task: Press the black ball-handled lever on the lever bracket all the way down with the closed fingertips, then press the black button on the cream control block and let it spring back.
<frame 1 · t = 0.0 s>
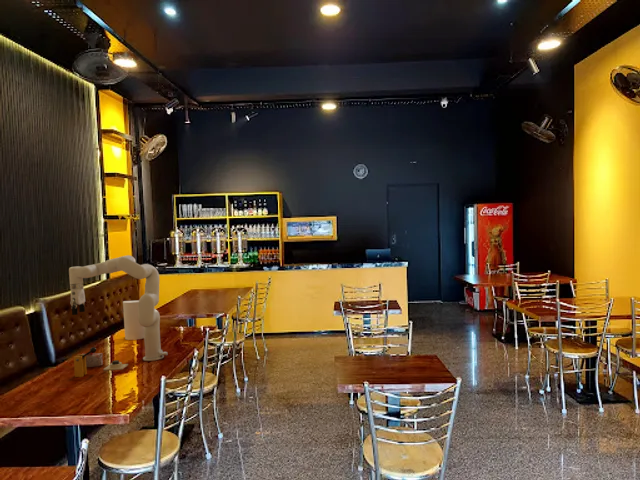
hand: (78, 313, 314), 31 cm above the table, tool pointing down, fingers open, 9 cm apart
cylinder: (137, 337, 382), on the table
press lever: (86, 354, 281), point 13 cm above the table, hinge at 30.0°
lever bracket: (81, 378, 282), on the table
stop button: (115, 362, 294), point 5 cm above the table, slide at 0.2 cm
control block: (116, 370, 294), on the table
food item: (91, 368, 302), on the table
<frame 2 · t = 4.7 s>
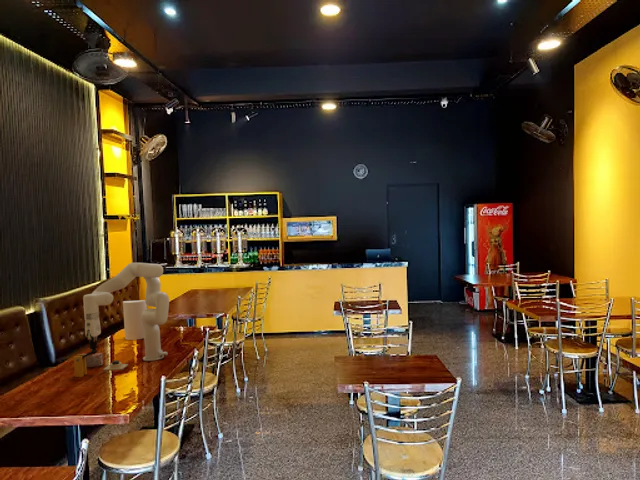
hand: (93, 348, 281), 16 cm above the table, tool pointing down, fingers closed
press lever: (87, 354, 281), point 13 cm above the table, hinge at 24.9°
everything else where it was.
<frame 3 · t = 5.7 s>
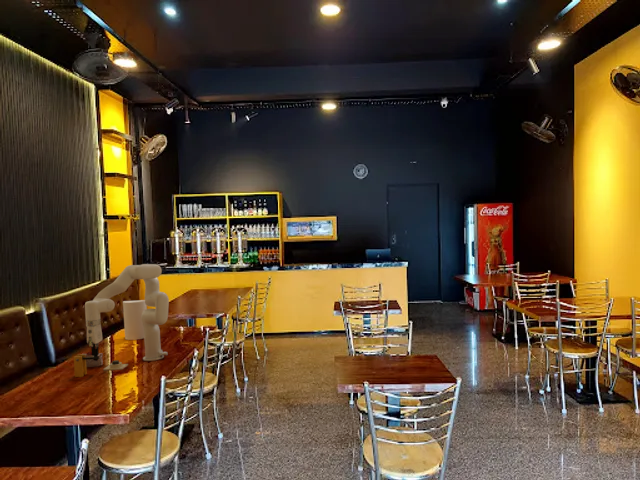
hand: (95, 355, 281), 13 cm above the table, tool pointing down, fingers closed
press lever: (88, 358, 281), point 11 cm above the table, hinge at -0.7°, touching gripper
everything else where it was.
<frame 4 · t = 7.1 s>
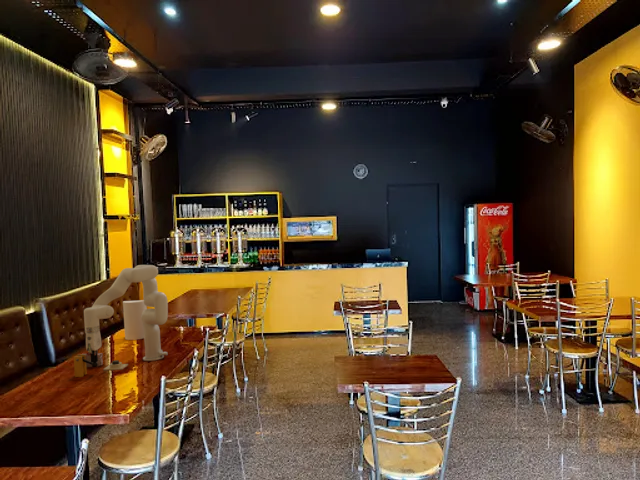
hand: (94, 361, 282), 9 cm above the table, tool pointing down, fingers closed
press lever: (87, 361, 281), point 9 cm above the table, hinge at -25.5°
everything else where it was.
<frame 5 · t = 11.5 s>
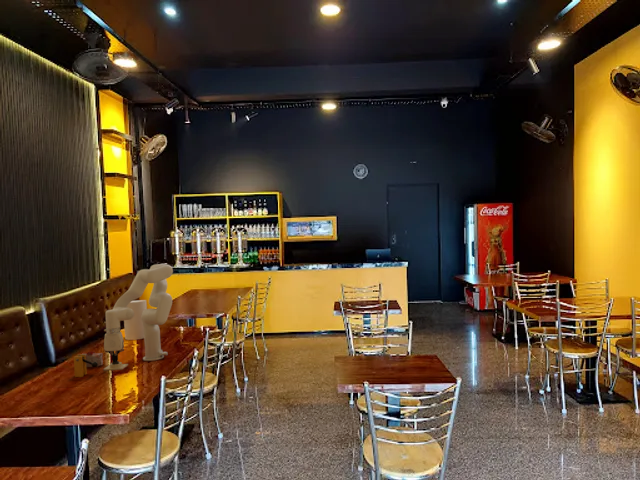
hand: (115, 361, 294), 5 cm above the table, tool pointing down, fingers closed
stop button: (115, 363, 294), point 4 cm above the table, slide at -0.2 cm, touching gripper
everything else where it was.
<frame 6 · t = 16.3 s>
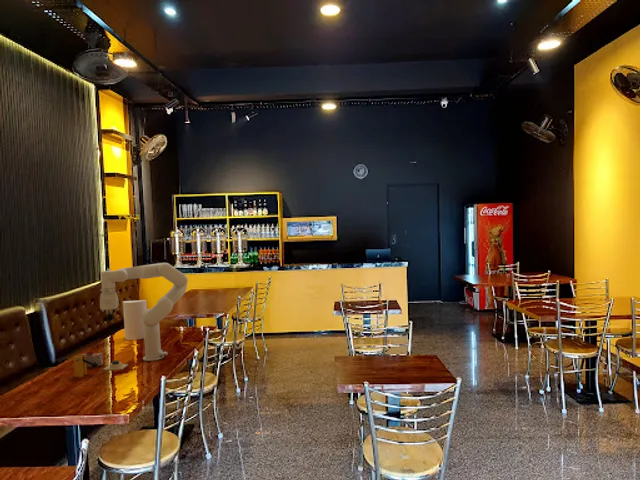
hand: (110, 320, 307), 27 cm above the table, tool pointing down, fingers closed
stop button: (115, 362, 294), point 5 cm above the table, slide at 0.1 cm
everything else where it was.
at the end: press lever at -26° (first picture: +30°); stop button pushed in 1.1 cm at the most during the clip and back out by the end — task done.
